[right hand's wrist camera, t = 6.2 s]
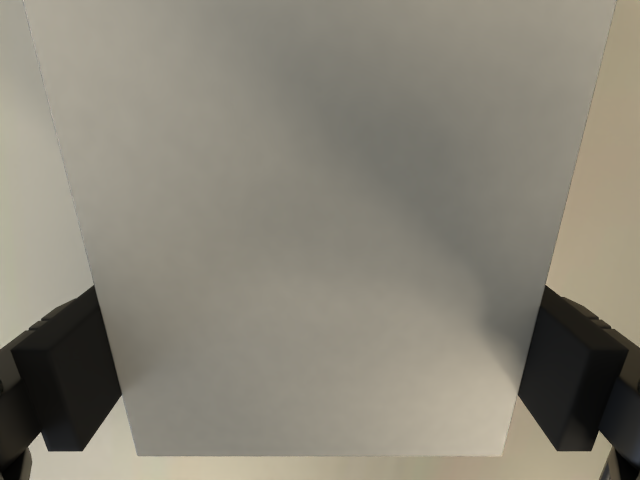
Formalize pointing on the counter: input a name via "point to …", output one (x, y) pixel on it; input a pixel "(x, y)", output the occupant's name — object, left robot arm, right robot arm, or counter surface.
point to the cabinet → (319, 209)
